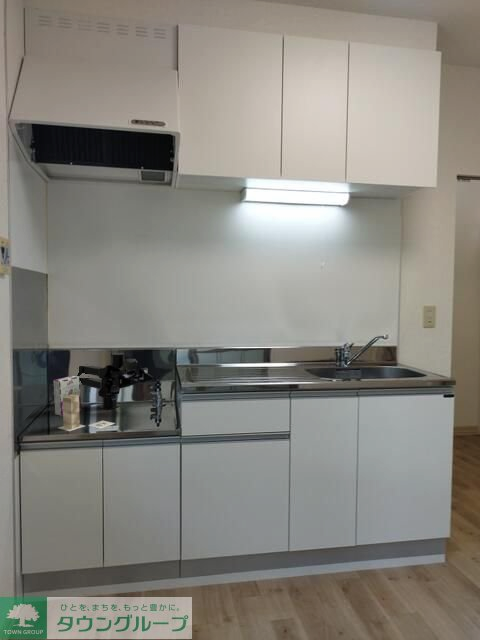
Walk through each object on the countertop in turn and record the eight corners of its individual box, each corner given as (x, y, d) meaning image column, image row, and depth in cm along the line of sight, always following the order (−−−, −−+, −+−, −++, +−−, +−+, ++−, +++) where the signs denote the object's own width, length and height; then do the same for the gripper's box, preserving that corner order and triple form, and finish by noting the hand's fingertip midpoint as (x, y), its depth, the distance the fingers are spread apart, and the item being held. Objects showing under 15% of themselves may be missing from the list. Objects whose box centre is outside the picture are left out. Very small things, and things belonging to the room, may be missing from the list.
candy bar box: (74, 408, 218) (73, 375, 217) (81, 410, 215) (80, 376, 214) (54, 414, 209) (52, 379, 207) (61, 416, 206) (59, 380, 205)
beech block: (71, 424, 193) (70, 394, 192) (79, 425, 192) (78, 395, 190) (63, 427, 189) (62, 397, 188) (71, 429, 187) (70, 398, 186)
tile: (57, 428, 189) (57, 427, 189) (73, 423, 196) (73, 422, 196) (69, 431, 185) (69, 431, 185) (85, 426, 192) (85, 425, 192)
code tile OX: (87, 425, 192) (87, 425, 192) (102, 420, 199) (102, 420, 199) (100, 429, 188) (100, 428, 188) (115, 423, 195) (115, 423, 195)
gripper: (105, 361, 205) (129, 366, 196) (137, 355, 220) (160, 359, 211) (106, 386, 206) (129, 391, 197) (137, 378, 221) (160, 383, 212)
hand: (145, 380), depth 204 cm, fingers open, 9 cm apart
